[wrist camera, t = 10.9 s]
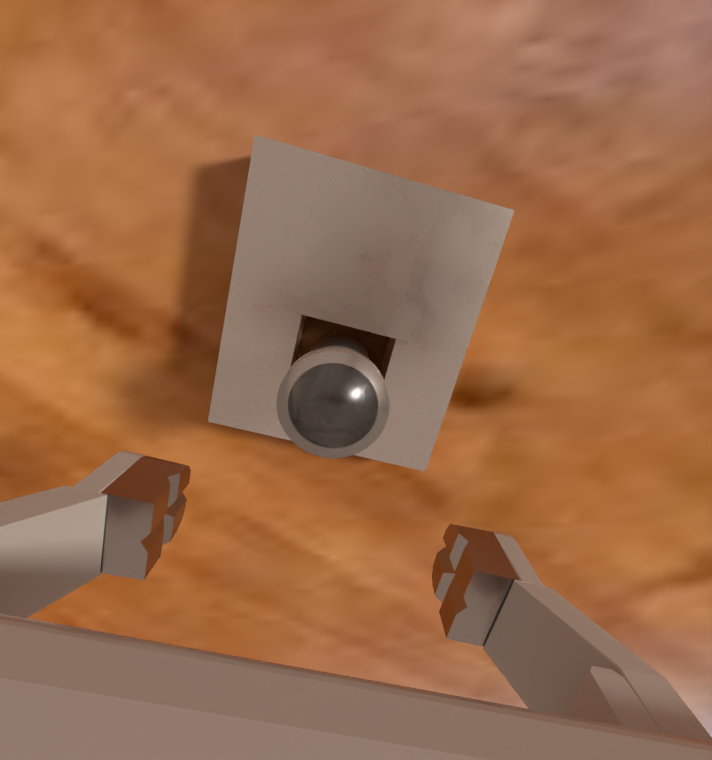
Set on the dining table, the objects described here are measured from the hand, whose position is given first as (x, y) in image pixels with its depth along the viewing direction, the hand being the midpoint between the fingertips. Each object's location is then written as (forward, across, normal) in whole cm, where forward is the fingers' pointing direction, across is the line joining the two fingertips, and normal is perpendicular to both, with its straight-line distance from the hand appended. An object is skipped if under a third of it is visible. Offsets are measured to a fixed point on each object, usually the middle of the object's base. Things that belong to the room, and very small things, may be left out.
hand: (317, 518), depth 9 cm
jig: (+17, 0, -3) cm, 17 cm away
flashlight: (+17, 0, 0) cm, 17 cm away
